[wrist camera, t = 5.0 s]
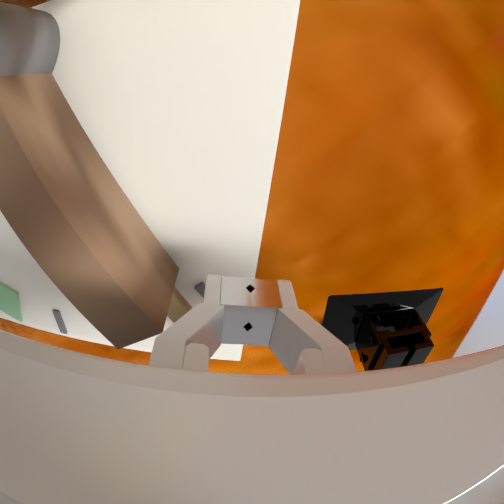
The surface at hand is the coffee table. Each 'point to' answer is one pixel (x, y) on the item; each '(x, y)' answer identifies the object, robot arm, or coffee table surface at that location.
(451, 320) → the coffee table surface
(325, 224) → the coffee table surface
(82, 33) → the dial plate
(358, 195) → the coffee table surface
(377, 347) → the black flanged block
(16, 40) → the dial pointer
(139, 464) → the robot arm
